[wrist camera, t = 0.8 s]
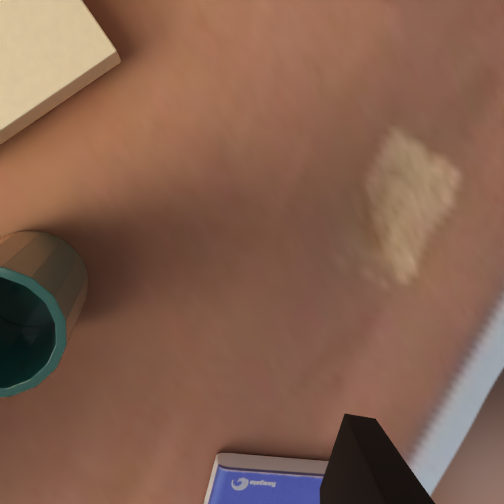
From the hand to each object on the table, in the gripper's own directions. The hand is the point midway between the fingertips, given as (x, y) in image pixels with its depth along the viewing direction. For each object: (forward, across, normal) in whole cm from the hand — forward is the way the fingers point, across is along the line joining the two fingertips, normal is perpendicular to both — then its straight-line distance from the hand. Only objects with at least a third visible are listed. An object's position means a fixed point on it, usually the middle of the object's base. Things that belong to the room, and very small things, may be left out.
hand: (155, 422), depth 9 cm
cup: (+14, +9, +6) cm, 17 cm away
